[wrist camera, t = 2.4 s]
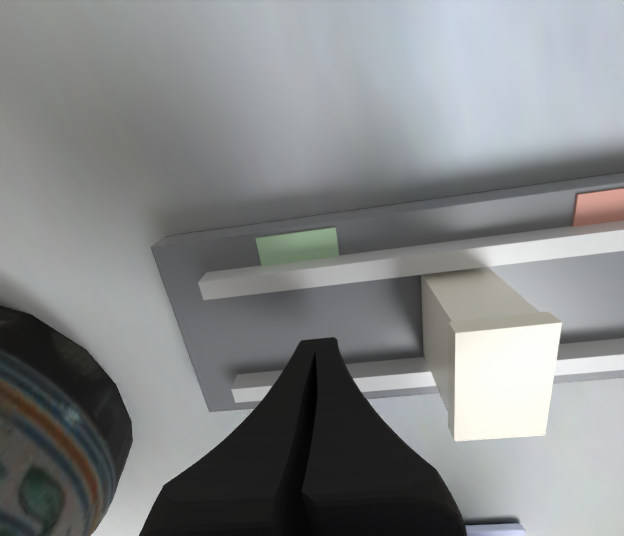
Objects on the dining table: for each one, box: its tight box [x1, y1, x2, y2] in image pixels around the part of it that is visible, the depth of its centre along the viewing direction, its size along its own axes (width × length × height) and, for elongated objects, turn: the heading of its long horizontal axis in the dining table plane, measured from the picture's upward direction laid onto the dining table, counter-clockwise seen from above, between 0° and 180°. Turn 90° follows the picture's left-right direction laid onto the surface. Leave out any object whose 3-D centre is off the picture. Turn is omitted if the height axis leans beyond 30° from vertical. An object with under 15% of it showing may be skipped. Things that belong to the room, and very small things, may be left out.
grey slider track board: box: [151, 172, 624, 412], centre depth 14 cm, size 9×24×2 cm, turn 99°
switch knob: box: [421, 267, 562, 441], centre depth 12 cm, size 4×3×4 cm, turn 9°
